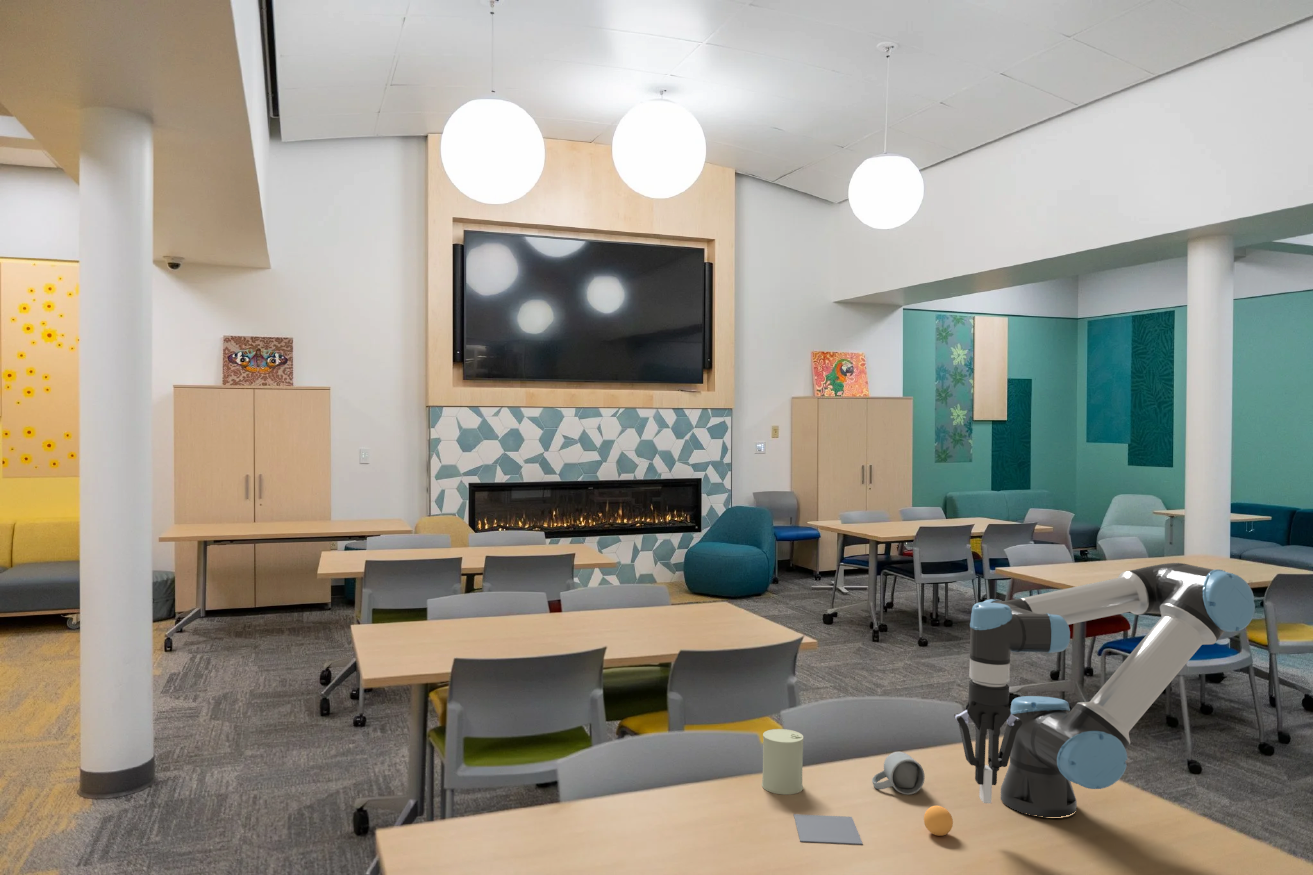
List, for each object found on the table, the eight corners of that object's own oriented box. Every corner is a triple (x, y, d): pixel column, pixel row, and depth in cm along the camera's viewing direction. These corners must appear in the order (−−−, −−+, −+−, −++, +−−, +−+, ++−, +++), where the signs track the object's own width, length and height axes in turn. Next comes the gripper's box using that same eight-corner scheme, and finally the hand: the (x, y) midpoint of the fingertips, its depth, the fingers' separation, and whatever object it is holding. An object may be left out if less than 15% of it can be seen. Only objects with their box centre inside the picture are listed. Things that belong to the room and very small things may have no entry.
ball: (948, 828, 173) (948, 801, 173) (956, 841, 168) (956, 813, 168) (920, 827, 174) (921, 800, 174) (927, 840, 168) (928, 811, 168)
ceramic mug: (912, 780, 198) (912, 747, 199) (925, 794, 190) (925, 760, 190) (867, 781, 198) (867, 747, 198) (878, 795, 190) (878, 760, 190)
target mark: (851, 817, 178) (851, 816, 178) (862, 844, 166) (862, 843, 166) (793, 815, 178) (793, 814, 178) (800, 841, 166) (800, 840, 166)
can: (802, 796, 188) (803, 741, 188) (760, 792, 190) (761, 738, 190) (803, 780, 197) (804, 728, 197) (763, 776, 199) (764, 725, 199)
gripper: (1015, 678, 174) (1011, 794, 174) (950, 674, 175) (946, 790, 174) (1029, 688, 166) (1025, 810, 166) (961, 685, 167) (957, 806, 167)
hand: (985, 800), depth 170 cm, fingers closed
